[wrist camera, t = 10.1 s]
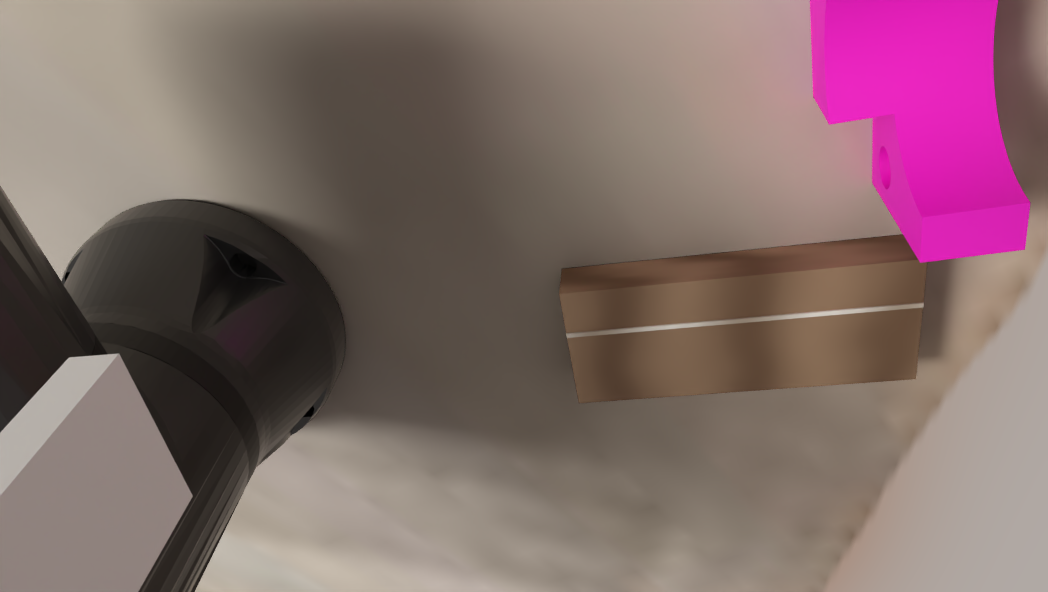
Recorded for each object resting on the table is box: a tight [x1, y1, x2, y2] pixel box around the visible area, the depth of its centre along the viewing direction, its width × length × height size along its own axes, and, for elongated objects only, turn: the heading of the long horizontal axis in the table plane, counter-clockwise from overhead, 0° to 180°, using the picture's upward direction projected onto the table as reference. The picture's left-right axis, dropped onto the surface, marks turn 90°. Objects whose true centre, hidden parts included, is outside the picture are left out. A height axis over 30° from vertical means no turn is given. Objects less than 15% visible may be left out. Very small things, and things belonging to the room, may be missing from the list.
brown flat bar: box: [559, 235, 927, 403], centre depth 42 cm, size 17×7×2 cm, turn 100°
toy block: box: [810, 0, 1030, 263], centre depth 31 cm, size 15×6×8 cm, turn 12°
